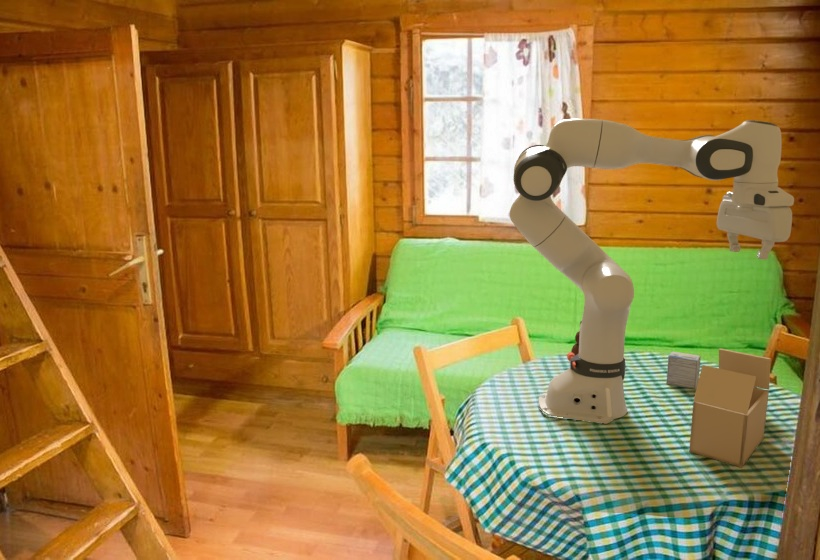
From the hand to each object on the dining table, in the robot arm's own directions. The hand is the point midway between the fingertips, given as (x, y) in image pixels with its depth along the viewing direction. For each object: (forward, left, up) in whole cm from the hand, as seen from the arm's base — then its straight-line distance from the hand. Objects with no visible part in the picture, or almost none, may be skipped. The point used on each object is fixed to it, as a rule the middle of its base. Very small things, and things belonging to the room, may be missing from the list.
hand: (748, 255), depth 149 cm
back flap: (0, -5, -26) cm, 26 cm away
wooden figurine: (-30, +37, -42) cm, 64 cm away
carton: (-5, -11, -42) cm, 44 cm away
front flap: (-8, -16, -26) cm, 32 cm away
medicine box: (-4, +25, -42) cm, 49 cm away
